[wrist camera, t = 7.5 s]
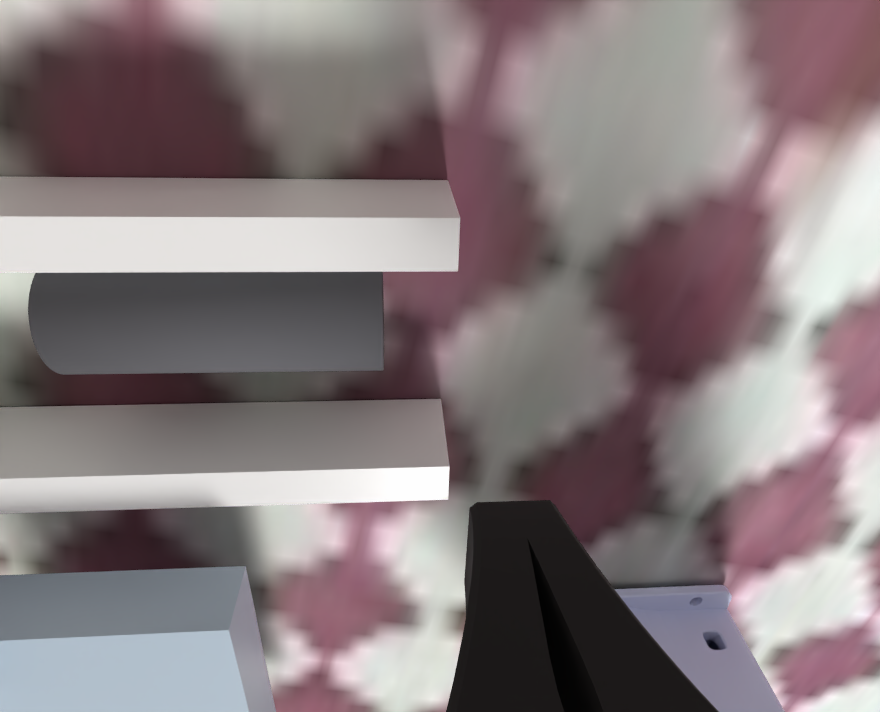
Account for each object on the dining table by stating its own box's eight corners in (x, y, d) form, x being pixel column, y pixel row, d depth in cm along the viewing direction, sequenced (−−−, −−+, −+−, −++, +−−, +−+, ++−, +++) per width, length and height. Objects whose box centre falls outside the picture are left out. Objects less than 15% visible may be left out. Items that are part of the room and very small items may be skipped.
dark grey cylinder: (383, 274, 17) (380, 239, 14) (384, 376, 17) (381, 361, 14) (97, 274, 17) (33, 237, 14) (90, 380, 16) (22, 365, 13)
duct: (447, 180, 15) (478, 272, 10) (438, 469, 20) (456, 635, 15) (-184, 175, 14) (-536, 276, 9) (-31, 482, 19) (-196, 667, 14)
